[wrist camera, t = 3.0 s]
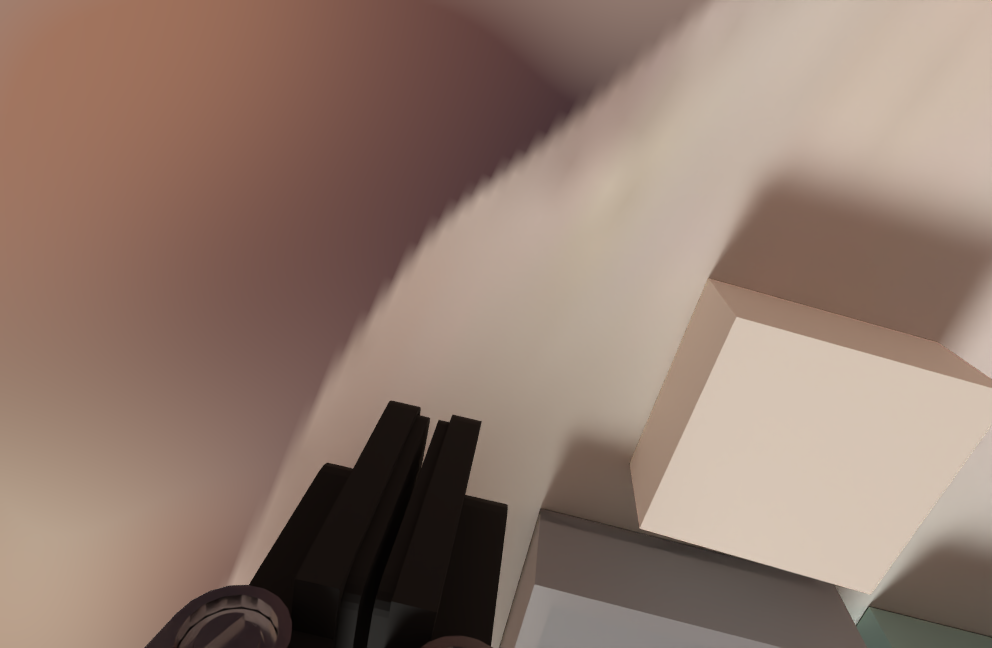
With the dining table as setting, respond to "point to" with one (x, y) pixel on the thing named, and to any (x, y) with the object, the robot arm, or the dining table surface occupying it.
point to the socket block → (913, 633)
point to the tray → (662, 596)
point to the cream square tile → (804, 436)
